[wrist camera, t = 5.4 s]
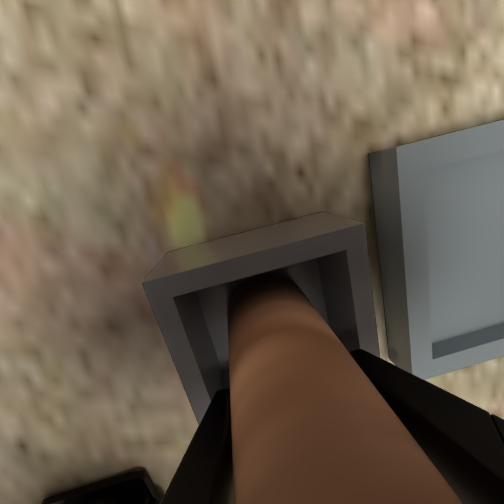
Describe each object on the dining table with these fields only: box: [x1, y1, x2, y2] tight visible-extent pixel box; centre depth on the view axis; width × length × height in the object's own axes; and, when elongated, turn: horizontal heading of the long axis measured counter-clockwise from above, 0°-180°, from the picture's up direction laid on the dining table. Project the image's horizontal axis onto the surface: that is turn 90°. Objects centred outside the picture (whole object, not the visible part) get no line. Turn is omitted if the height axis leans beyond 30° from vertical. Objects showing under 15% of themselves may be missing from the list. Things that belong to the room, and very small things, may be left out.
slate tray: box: [369, 119, 504, 380], centre depth 13 cm, size 12×12×2 cm
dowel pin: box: [227, 274, 463, 504], centre depth 8 cm, size 4×4×10 cm
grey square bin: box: [142, 212, 380, 424], centre depth 12 cm, size 8×8×4 cm
